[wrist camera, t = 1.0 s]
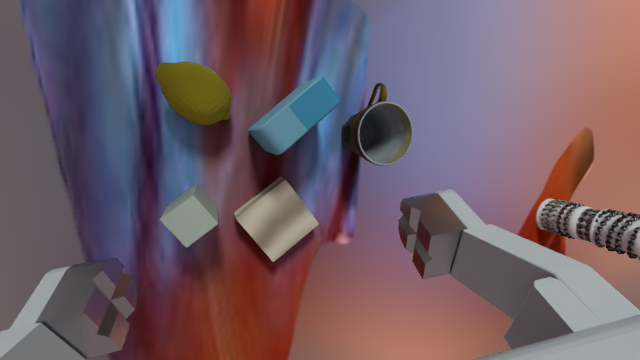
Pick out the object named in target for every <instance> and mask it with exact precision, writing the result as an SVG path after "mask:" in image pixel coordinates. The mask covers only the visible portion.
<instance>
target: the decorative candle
mask: <svg viewBox="0 0 640 360" xmlns="http://www.w3.org/2000/svg"><path fill="white" fill-rule="evenodd" d="M629 216H632V217H629ZM536 223H537V226H538V227H539V228H540V229H541V230H547V232H549V231H550V232H551V233H552V232H553V234H556V233H557V234H558V235H559V234H561V236H565V237H568V238H572V239H575V238H576V239H580V240H586V241H589V242H592V243H593V244H594V245H596V246H598V247H604V246H606V248H607V249H608V251H616V252H617V253H618V254H624V253H625V252H627V254H628V256H629V257H630V258H637V257H638V258H639V260H640V215H638V214H633V213H628V214H625V212H620V211H615V210H614V211H612V210H611V209H608V210H607V209H605V210H602V211H601V210H595V209H593V208H590V207H585V206H584V205H581V204H576V203H575V204H574V203H572V202H571V203H569V202H567V201H561V200H558V199H555V200H554V199H546V200H545V201H543V202H542V203H541V204H540V206H539V208H538V210H537V213H536Z"/></svg>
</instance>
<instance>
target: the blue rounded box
mask: <svg viewBox="0 0 640 360" xmlns="http://www.w3.org/2000/svg"><path fill="white" fill-rule="evenodd" d="M339 102H340V100H339V98H338V97H337V95H336V94H335V93H334V91H333V90H332V88H331V87H330V85H329V84H328V83H327V81H326V80H325V78H324V77H323V76H322V75H320V76H318V77H316V78H314V79H312V80H310V81H308V82H306V83H304V84H302V85H300V86H299V87H298V88H296V89H295V90H294V91H293V92H292V93H290V94H289V95H288V96H287V97H286V98H284V99H283V100H282V101H281V102H280V103H279V104H277V105H276V106H275V107H274V108H273V109H271V110H270V111H269V112H268V113H267V114H265V115H264V116H263V117H262V118H261V119H260V120H258V121H257V122H256V123H255V124H254V125H252V126H251V127H250V128H249V129H248V132H249V133H250V134H251V135H252V136H253V137H254V139H255V140H256V141H257V142H258V143H259V144H260V146H261V147H262V148H263V149H264V150H265V151H267V152H270V153H273V154H275V155H280V154H282V153H283V152H285V151H286V150H287V149H288V148H290V147H291V146H292V145H293V144H294V143H295V142H296V141H298V140H299V139H300V138H301V137H302V136H303V135H304V134H306V133H307V132H308V131H309V130H310V129H311V128H312V127H314V126H315V125H316V124H317V123H318V122H319V121H320V120H321V119H323V118H324V117H325V116H326V115H327V114H328V113H329V112H331V111H332V110H333V109H334V108H335V107H336V106H337V105H338V104H339Z"/></svg>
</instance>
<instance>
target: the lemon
mask: <svg viewBox="0 0 640 360" xmlns="http://www.w3.org/2000/svg"><path fill="white" fill-rule="evenodd" d="M155 78H156V79H157V81H158V83H159V85H160V87H161V90H162V93H163V95H164V97H165V98H166V100H167V102H168V103H169V105H170V106H171V107H172V108H173V109H174V110H175V111H176V112H177V113H178V114H180V115H181V116H182V117H184V118H186V119H187V120H189V121H191V122H193V123H196V124H200V125H211V124H214V123H217V122H219V121H221V120H227V119H229V118H230V113H229V110H230V105H231V99H232V98H231V93H230V91H229V88H228V87H227V85H226V84H225V82H224V81H223V80H222V79H221V77H220V76H219V75H218V74H216V73H215V72H214V71H212V70H211V69H209V68H207V67H205V66H203V65H200V64H197V63H192V62H179V63H161V64H159V66H158V67H157V69H156V70H155Z"/></svg>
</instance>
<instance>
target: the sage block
mask: <svg viewBox="0 0 640 360" xmlns="http://www.w3.org/2000/svg"><path fill="white" fill-rule="evenodd" d="M160 221H161V222H162V223H163V224H164V225H165V226H166V227H167V228H168V229H169V230H170V231H171V232H172V233H173V234H174V235H175V236H176V237H177V238H178V240H179V241H180V242H181V243H182V244H183V245H184V246H185V247H186V248H187V247H188V246H190V245H191V244H192V243H194V242H195V241H196V240H198V239H199V238H200V237H202V236H203V235H204V234H206V233H207V232H208V231H210V230H211V229H212V228H214V227H215V226H216V225H217V224H218V214H217V206H216V205H215V204H214V203H213V202H212V200H211V199H210V198H209V197H208V196H207V195H206V193H205V192H204V191H203V190H202V189H201V188H200V186H199V185H198V184H197V183H196V184H195V185H193V186H192V187H190V188H189V189H188V190H186V191H185V192H183V193H182V194H181V195H179V196H178V197H176V198H175V199H174V200H172V201H171V202H169V204H168V206H167V208H166V209H165V211H164V213H163V215H162V216H161V218H160Z"/></svg>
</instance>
